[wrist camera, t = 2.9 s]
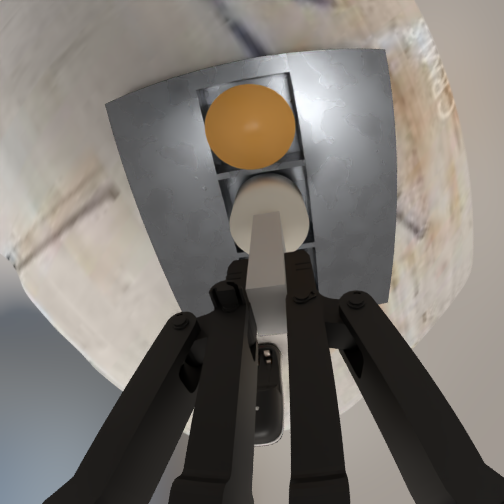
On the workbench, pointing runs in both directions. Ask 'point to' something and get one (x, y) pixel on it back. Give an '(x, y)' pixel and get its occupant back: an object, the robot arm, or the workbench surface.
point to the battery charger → (269, 397)
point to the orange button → (250, 126)
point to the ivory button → (269, 209)
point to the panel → (268, 169)
